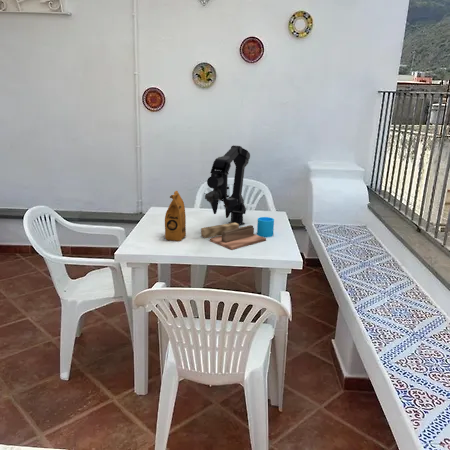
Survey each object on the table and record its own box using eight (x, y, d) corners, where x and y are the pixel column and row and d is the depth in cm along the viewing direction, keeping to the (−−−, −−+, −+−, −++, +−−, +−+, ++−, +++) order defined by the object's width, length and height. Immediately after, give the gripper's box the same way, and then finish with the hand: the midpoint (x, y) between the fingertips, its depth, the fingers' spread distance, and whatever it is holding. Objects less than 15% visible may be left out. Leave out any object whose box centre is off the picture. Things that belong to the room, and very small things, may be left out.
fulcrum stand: (209, 240, 210) (209, 228, 209) (243, 232, 224) (243, 221, 222) (231, 249, 199) (232, 237, 197) (265, 240, 213) (266, 228, 211)
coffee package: (161, 240, 209) (160, 195, 203) (168, 233, 221) (168, 189, 214) (182, 242, 207) (181, 196, 201) (188, 234, 219) (188, 190, 213)
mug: (272, 237, 217) (273, 221, 215) (255, 236, 219) (256, 220, 216) (274, 230, 228) (275, 215, 226) (258, 229, 230) (259, 214, 228)
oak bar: (204, 238, 214) (205, 229, 213) (201, 236, 217) (201, 228, 216) (238, 232, 225) (239, 224, 224) (234, 230, 228) (235, 222, 226)
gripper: (196, 183, 215) (196, 214, 220) (221, 190, 202) (220, 222, 206) (214, 181, 222) (213, 211, 227) (239, 187, 209) (238, 219, 213)
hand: (220, 215), depth 218 cm, fingers open, 9 cm apart
